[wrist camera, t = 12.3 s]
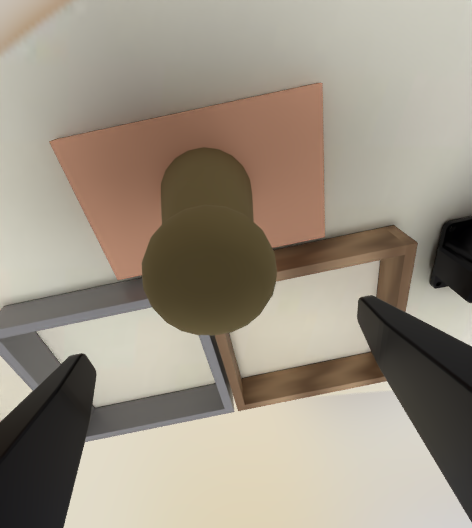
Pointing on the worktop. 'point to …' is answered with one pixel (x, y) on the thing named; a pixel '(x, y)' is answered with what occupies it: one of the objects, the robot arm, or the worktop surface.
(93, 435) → the charcoal bin
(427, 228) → the worktop surface
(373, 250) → the walnut bin
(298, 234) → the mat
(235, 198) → the cork
